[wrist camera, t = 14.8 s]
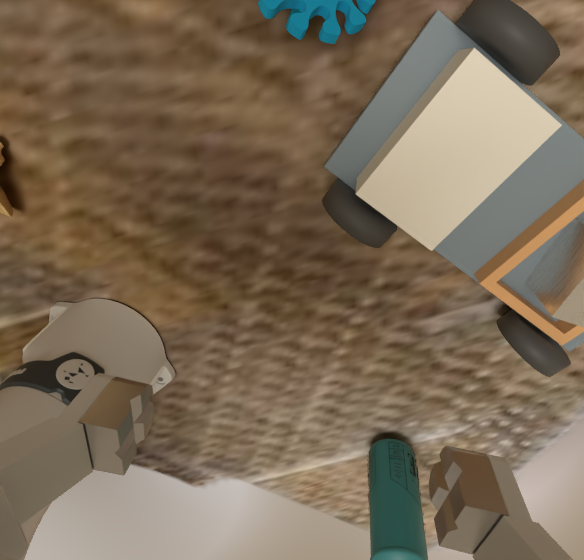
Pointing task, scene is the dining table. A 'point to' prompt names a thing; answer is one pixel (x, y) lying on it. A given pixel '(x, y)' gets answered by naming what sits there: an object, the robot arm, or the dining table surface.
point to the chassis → (470, 164)
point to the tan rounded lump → (3, 205)
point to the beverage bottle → (395, 503)
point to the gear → (324, 3)
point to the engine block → (562, 275)
